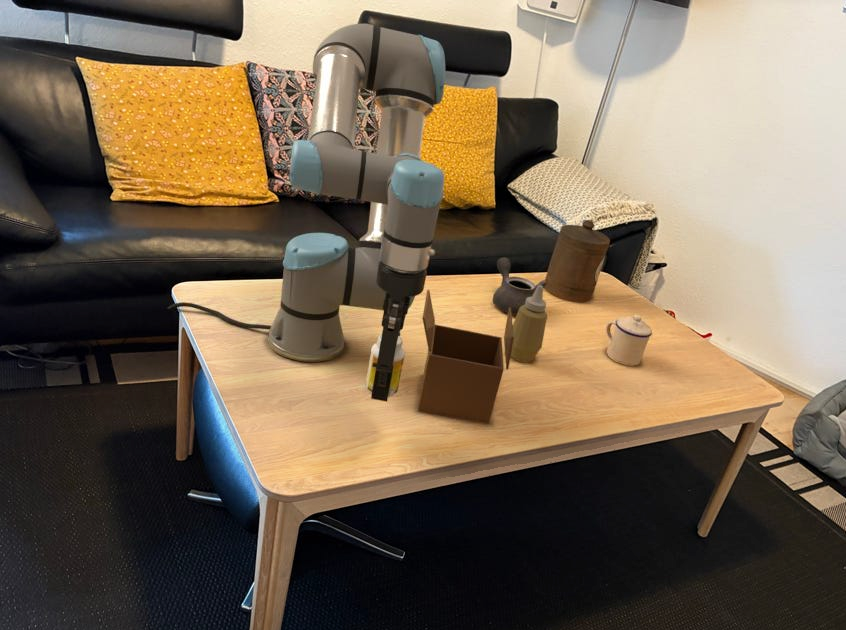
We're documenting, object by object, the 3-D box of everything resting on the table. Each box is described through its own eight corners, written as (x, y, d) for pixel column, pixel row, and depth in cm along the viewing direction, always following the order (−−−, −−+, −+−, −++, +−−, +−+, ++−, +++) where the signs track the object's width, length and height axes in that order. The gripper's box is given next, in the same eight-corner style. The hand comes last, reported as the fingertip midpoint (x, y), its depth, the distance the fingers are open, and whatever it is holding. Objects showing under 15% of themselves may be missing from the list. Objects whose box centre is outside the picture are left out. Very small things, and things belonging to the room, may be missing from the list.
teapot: (553, 316, 182) (564, 282, 177) (509, 321, 173) (518, 286, 168) (512, 286, 194) (521, 254, 190) (469, 289, 185) (477, 255, 181)
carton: (417, 411, 128) (436, 321, 119) (422, 376, 140) (439, 293, 131) (493, 424, 130) (517, 337, 121) (492, 389, 141) (513, 307, 132)
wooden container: (600, 303, 198) (624, 232, 187) (557, 301, 191) (578, 228, 181) (577, 281, 209) (598, 214, 199) (535, 279, 203) (554, 209, 193)
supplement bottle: (401, 399, 114) (411, 347, 109) (368, 399, 112) (377, 347, 107) (393, 380, 119) (402, 330, 114) (362, 381, 116) (370, 329, 111)
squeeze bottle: (535, 368, 154) (556, 297, 145) (501, 359, 154) (520, 287, 146) (539, 353, 161) (559, 285, 152) (506, 344, 161) (525, 275, 153)
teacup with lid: (647, 363, 169) (663, 322, 163) (625, 369, 163) (640, 327, 158) (612, 340, 176) (626, 300, 171) (589, 345, 171) (603, 304, 165)
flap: (431, 351, 122) (428, 351, 122) (435, 321, 133) (433, 321, 133) (424, 317, 119) (422, 318, 119) (429, 289, 130) (427, 289, 130)
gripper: (423, 294, 96) (397, 424, 108) (431, 248, 112) (408, 365, 124) (370, 283, 96) (350, 415, 107) (386, 239, 112) (367, 358, 123)
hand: (381, 388), depth 115 cm, fingers closed on supplement bottle, 6 cm apart
